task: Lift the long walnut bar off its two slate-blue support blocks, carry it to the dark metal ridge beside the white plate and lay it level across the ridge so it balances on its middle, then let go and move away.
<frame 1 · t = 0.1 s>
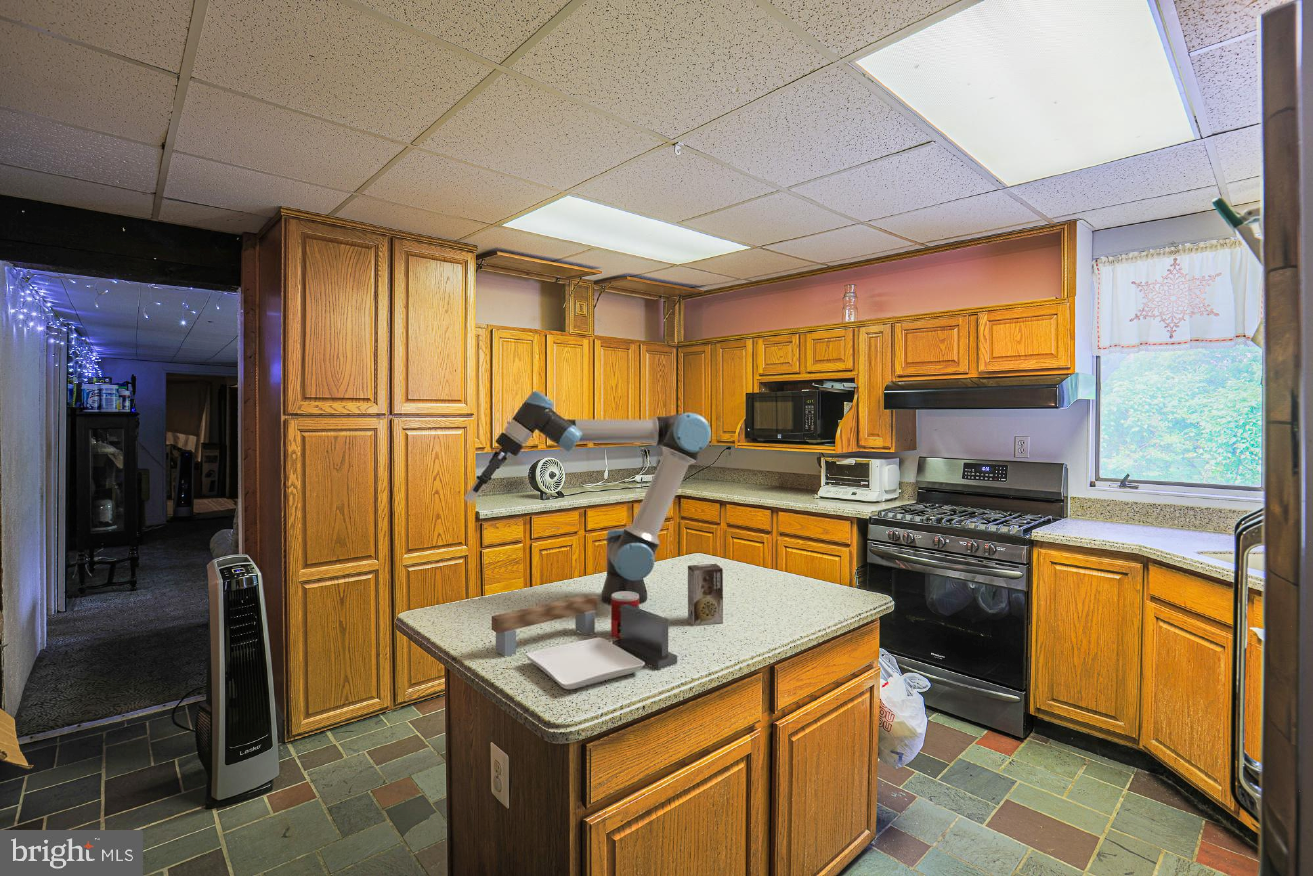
hand: (469, 498, 179), 36 cm above the countertop, tool tilted 35°, fingers open, 13 cm apart
walnut bar: (547, 619, 164), point 6 cm above the countertop, touching support blocks
ridge: (643, 655, 154), on the countertop
canned food: (625, 635, 169), on the countertop
coffee box: (705, 622, 181), on the countertop
support blocks: (547, 641, 164), on the countertop
salad plate: (584, 672, 145), on the countertop
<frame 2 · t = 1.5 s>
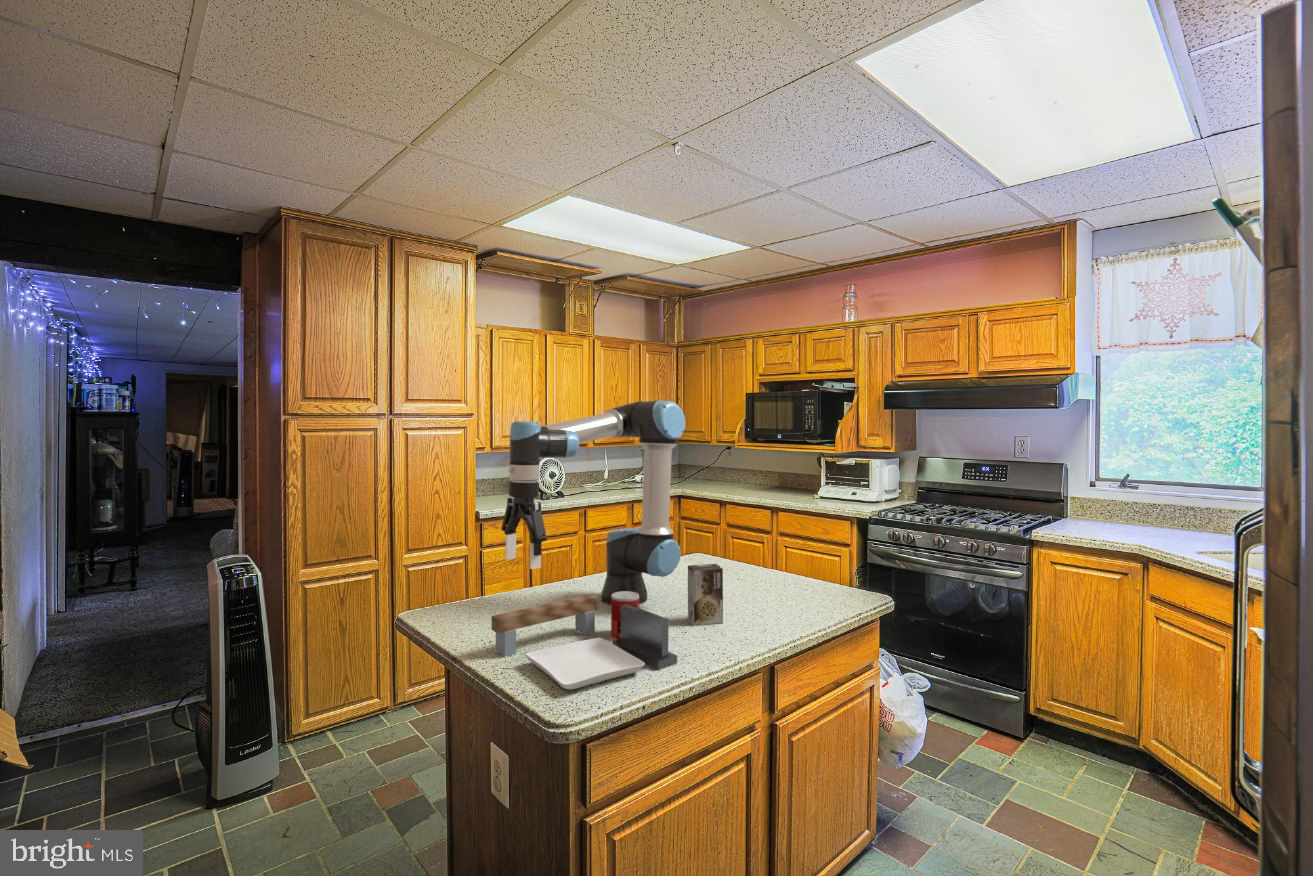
hand: (522, 563, 160), 21 cm above the countertop, tool pointing down, fingers open, 13 cm apart
nothing on the countertop moved.
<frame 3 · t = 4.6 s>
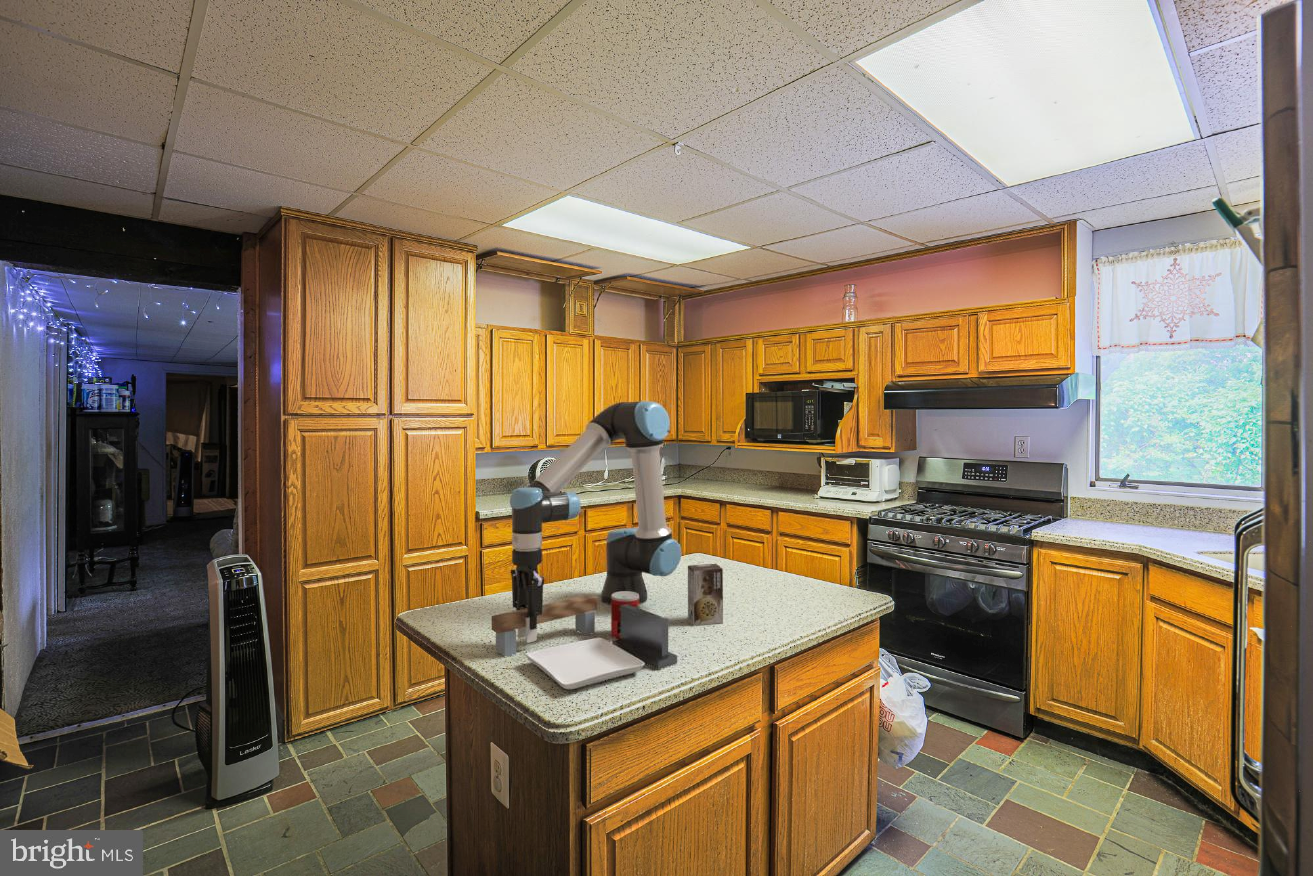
hand: (527, 638, 160), 2 cm above the countertop, tool pointing down, fingers closed on walnut bar, 3 cm apart
walnut bar: (547, 619, 164), point 6 cm above the countertop, touching gripper, support blocks
everything else where it was.
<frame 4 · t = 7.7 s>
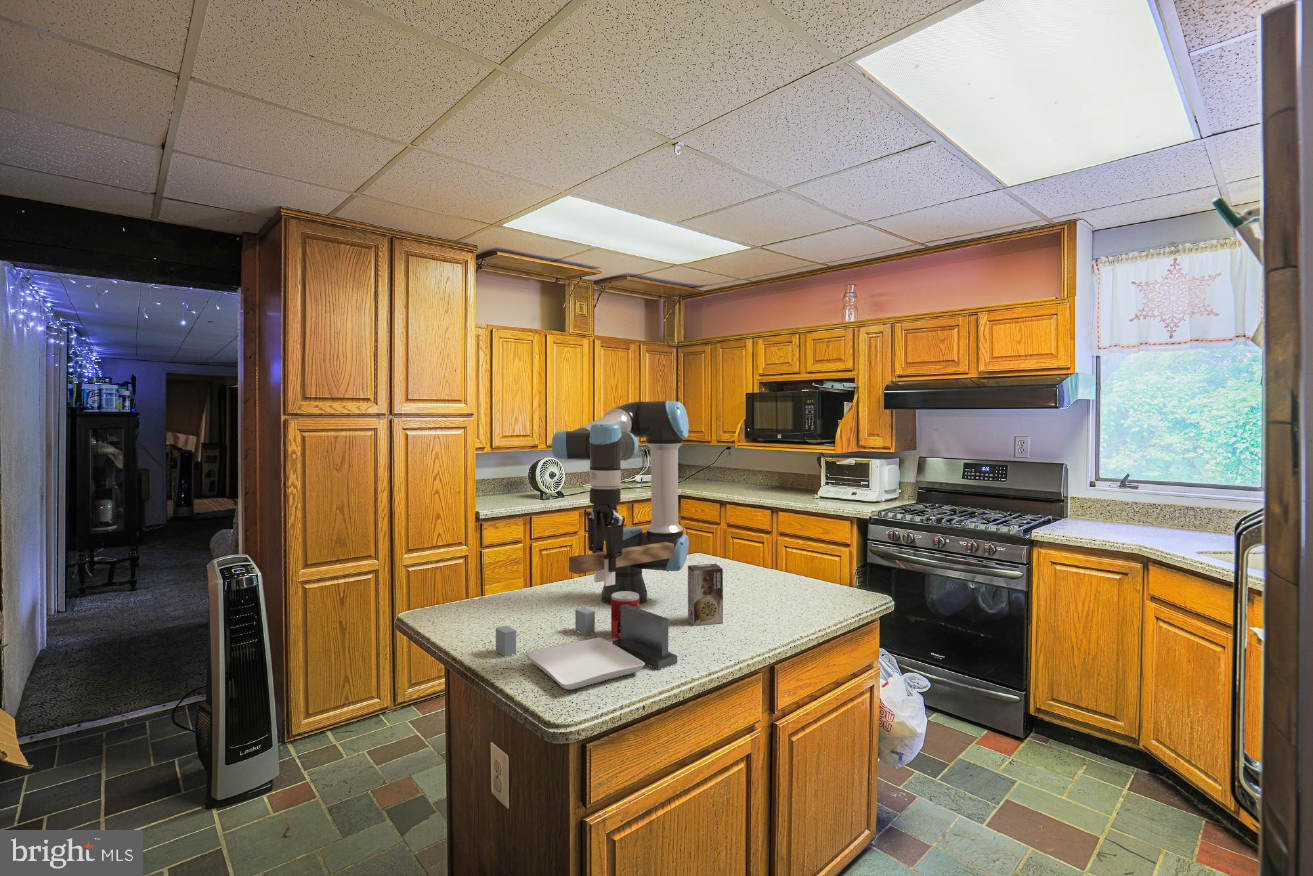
hand: (604, 582, 151), 19 cm above the countertop, tool pointing down, fingers closed on walnut bar, 3 cm apart
walnut bar: (624, 564, 155), point 23 cm above the countertop, touching gripper
everything else where it was.
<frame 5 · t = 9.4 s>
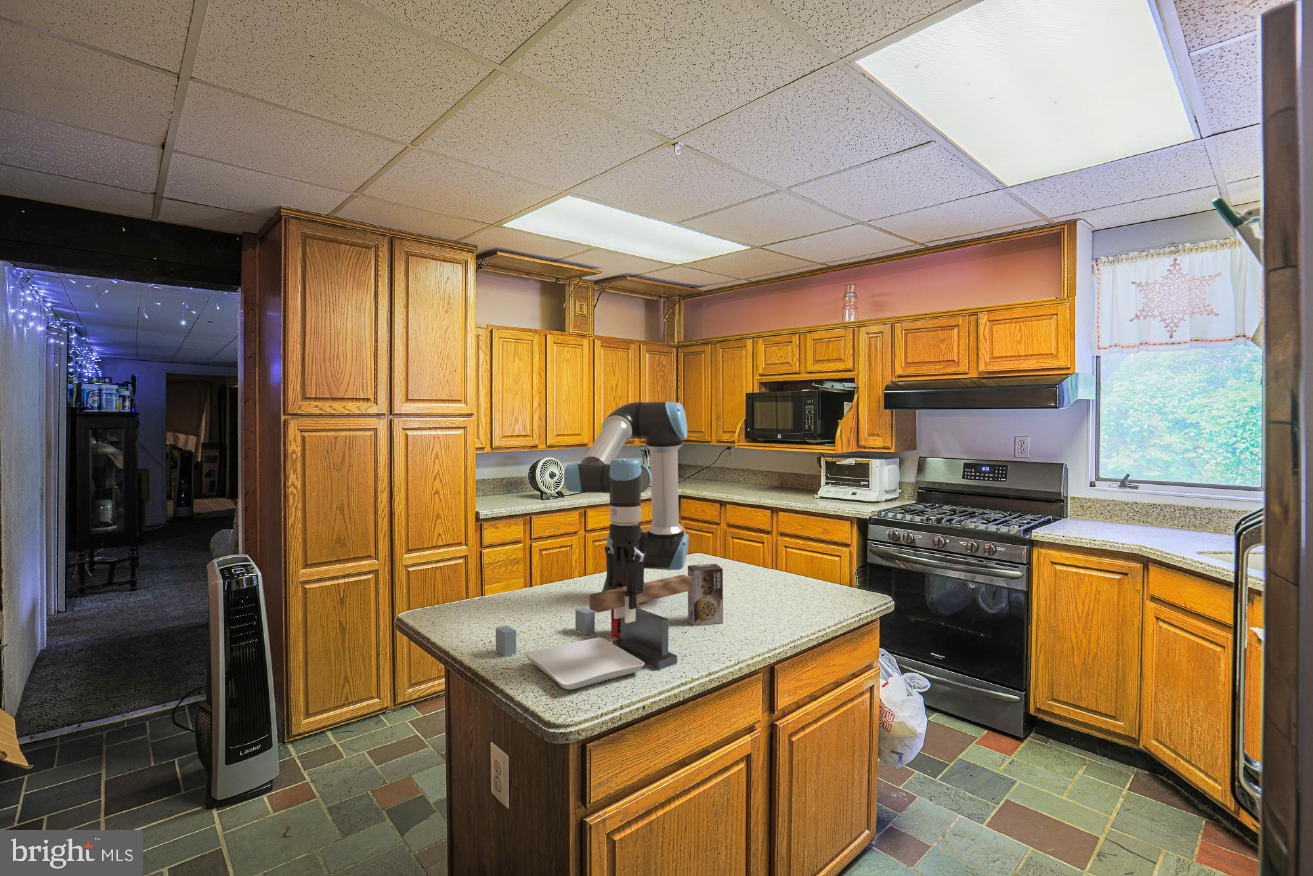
hand: (624, 619, 150), 10 cm above the countertop, tool pointing down, fingers closed on walnut bar, 3 cm apart
walnut bar: (643, 599, 154), point 14 cm above the countertop, touching gripper
everything else where it was.
when the fingers open (8 cm above the countertop, at t = 10.8 s): walnut bar stays where it is, resting on ridge.
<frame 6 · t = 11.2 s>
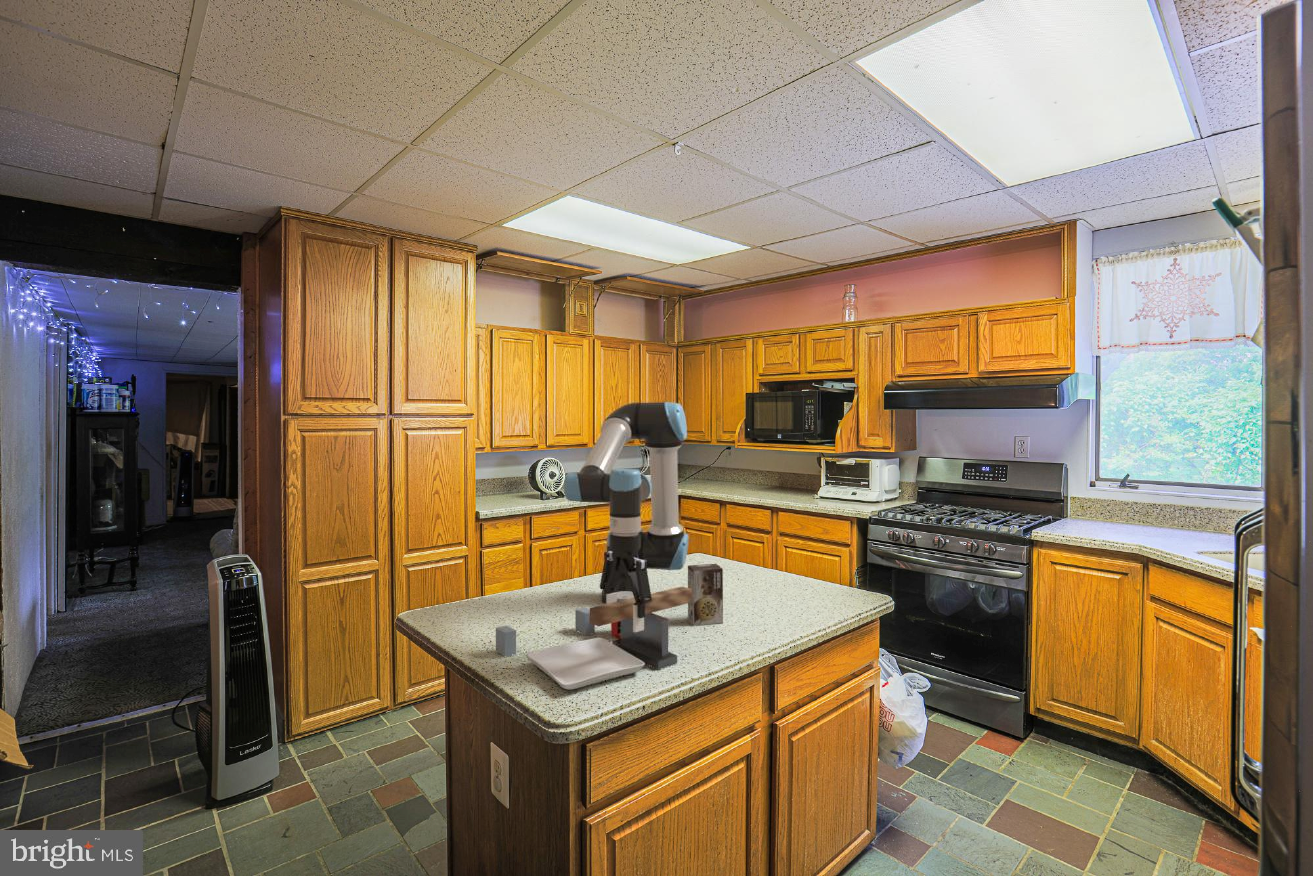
hand: (624, 625, 150), 9 cm above the countertop, tool pointing down, fingers open, 10 cm apart
walnut bar: (643, 612, 154), point 11 cm above the countertop, touching ridge
everything else where it was.
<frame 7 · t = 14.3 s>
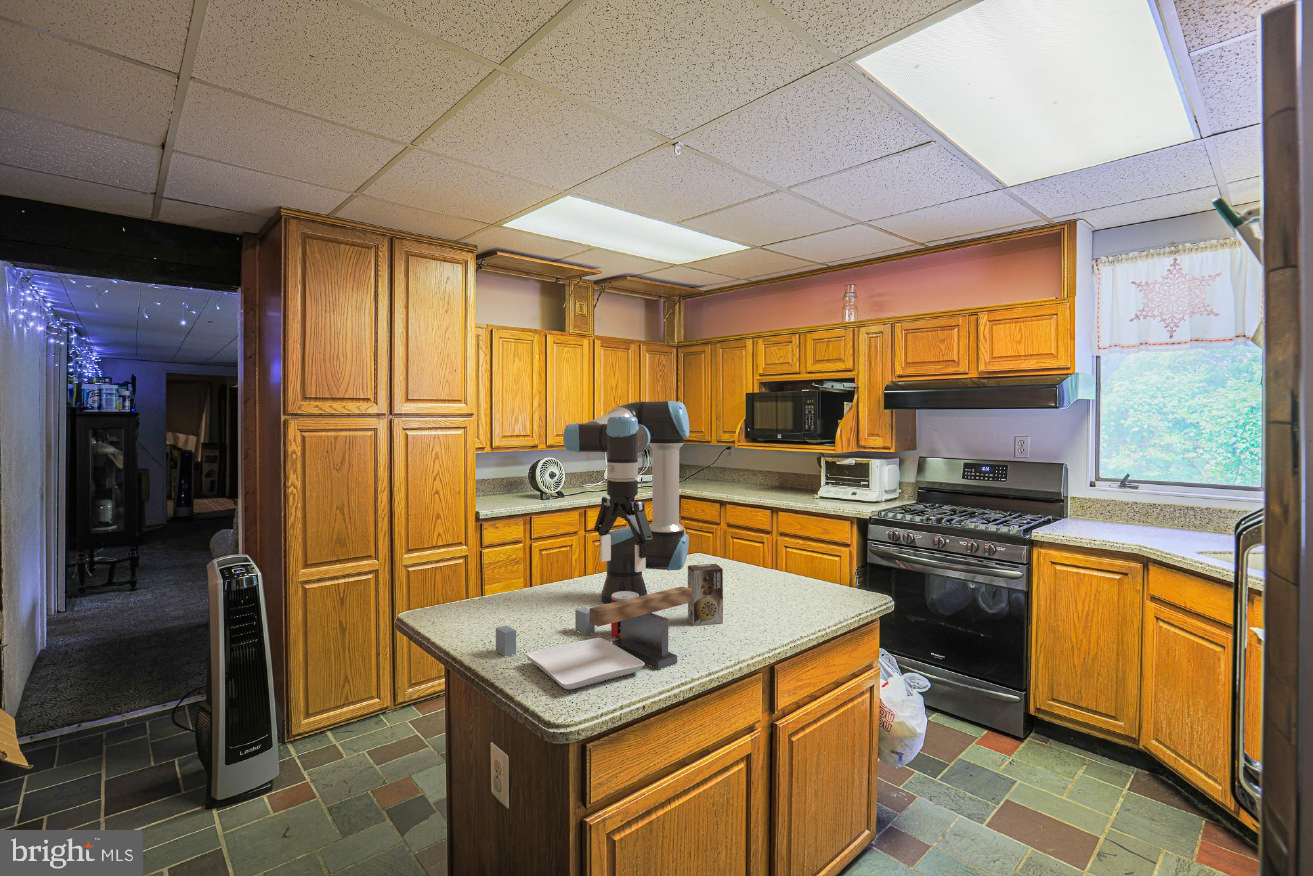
hand: (622, 566, 152), 23 cm above the countertop, tool pointing down, fingers open, 13 cm apart
nothing on the countertop moved.
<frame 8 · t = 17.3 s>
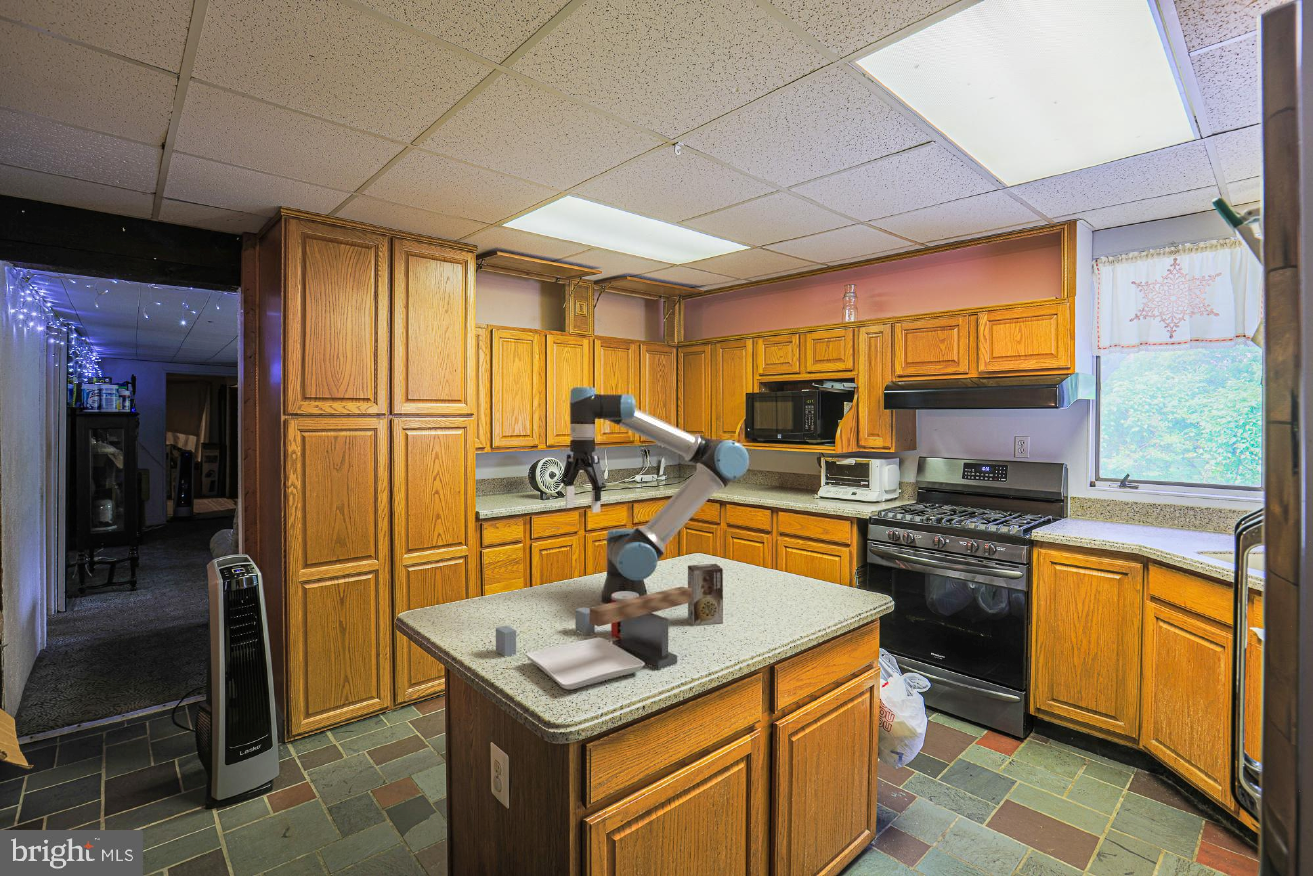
hand: (582, 509, 186), 32 cm above the countertop, tool pointing down, fingers open, 13 cm apart
nothing on the countertop moved.
at the end: walnut bar 0.1 cm off-centre on the ridge, point 11.0 cm above the ridge's base; walnut bar touching ridge; walnut bar tilted 0° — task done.
